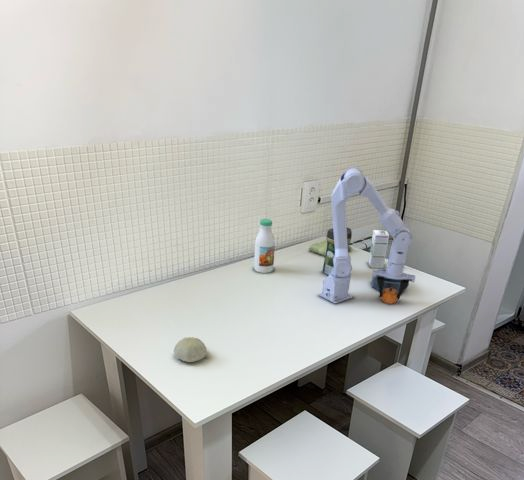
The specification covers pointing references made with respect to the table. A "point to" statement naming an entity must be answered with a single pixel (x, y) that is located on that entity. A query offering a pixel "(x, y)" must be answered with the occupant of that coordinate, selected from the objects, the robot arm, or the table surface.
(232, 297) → the table surface
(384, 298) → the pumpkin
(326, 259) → the coffee jar
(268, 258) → the milk bottle
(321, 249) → the washcloth
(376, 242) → the syrup box
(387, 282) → the bowl
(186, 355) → the sea urchin shell
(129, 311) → the table surface
